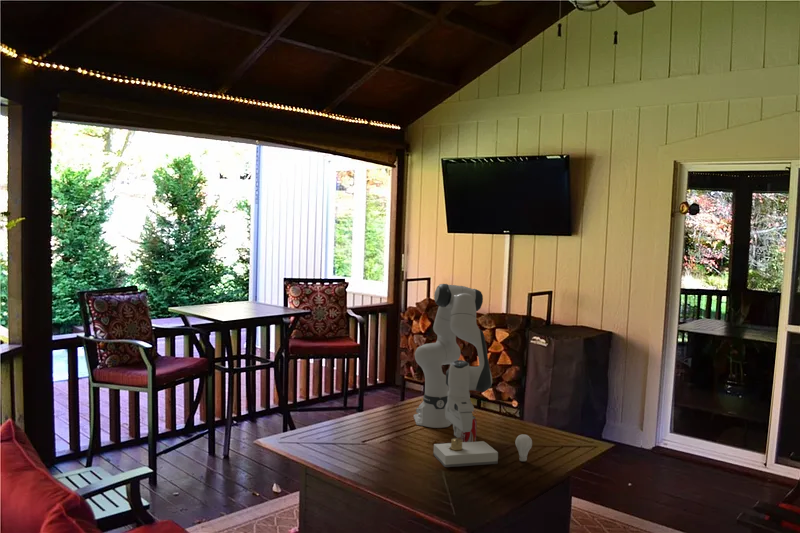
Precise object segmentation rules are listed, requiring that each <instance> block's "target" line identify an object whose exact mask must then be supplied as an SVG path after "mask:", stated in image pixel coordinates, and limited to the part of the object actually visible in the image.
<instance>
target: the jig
mask: <svg viewBox="0 0 800 533" xmlns="http://www.w3.org/2000/svg"><path fill="white" fill-rule="evenodd" d="M432 455H433V456H434V457H435V458H436V460H438V461H439V463H440V464H441V465H442V466H443V467H445V468H452V467H453V468H454V467H455V468H456V467H468V466H481V465H485V466H486V465H497V464H498V461H499V452H498V451H497V450H496V449H494V448H493V447H492V446H491V445H489V444H488V443H487V442H485V440H480V441H476V442H462V451H452V450H451V442H447V443H433V454H432Z"/></svg>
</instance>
